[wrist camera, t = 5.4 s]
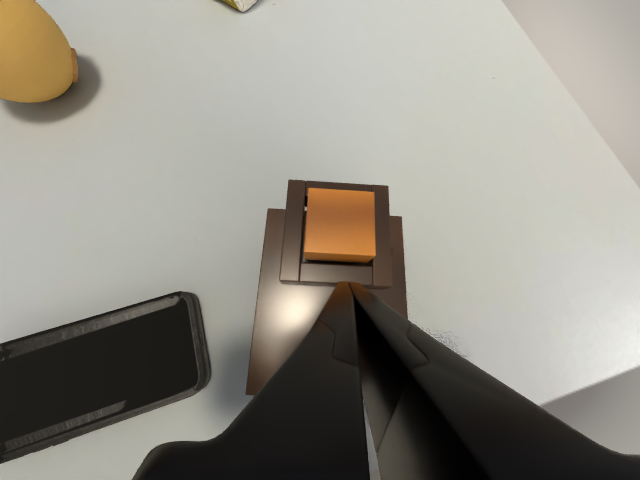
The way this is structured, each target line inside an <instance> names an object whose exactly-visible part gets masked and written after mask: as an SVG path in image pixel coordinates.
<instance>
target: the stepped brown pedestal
mask: <svg viewBox="0 0 640 480" xmlns="http://www.w3.org/2000/svg"><path fill="white" fill-rule="evenodd" d="M308 188H319V189H334V190H350V191H366V192H374V207H375V249H376V256H375V257H374V258H372V259H371V260H370V261H369V262H368V263H357V262H338V261H320V260H305V256H304V246H305V231H306V216H307V211H305V206H306V207H307V202H308ZM338 281H347V282H358V283H359V284H361V285H362V286H363V287H365V288H366V289H367V290H369V291H370V292H371V293H373V294H374V295H375V296H377V297H378V298H379V299H381V300H382V301H383V302H385V303H386V304H387V305H389V306H390V307H391V308H393V309H394V310H395V311H397V312H398V313H399V314H401V315H402V316H403V317H405V318H406V319H407V320H408V316H407V299H406V282H405V265H404V248H403V231H402V217H400V216H390V215H389V192H388V186H383V185H365V184H349V183H334V182H318V181H303V180H289V181H288V191H287V202H286V210H285V209H269V208H268V212H267V220H266V228H265V236H264V245H263V253H262V261H261V270H260V278H259V286H258V295H257V303H256V311H255V320H254V328H253V336H252V345H251V353H250V361H249V369H248V378H247V386H246V395H256V394H257V393H258V392H259V390H260V389H261V388H262V387H263V386H264V385H265V383H266V382H267V381H268V380H269V379H270V377H271V376H272V375H273V374H274V373H275V372H276V370H277V369H278V368H279V367H280V366H281V365H282V363H283V362H284V361H285V360H286V359H287V357H288V356H289V355H290V354H291V353H292V352H293V350H294V349H295V348H296V347H297V346H298V345H299V343H300V342H301V341H302V340H303V338H304V337H305V336H306V335H307V333H308V332H309V330H310V329H311V327H312V326H313V324H314V322H315V321H316V319H317V318H318V316H319V314H320V312H321V311H322V309H323V307H324V305H325V304H326V302H327V300H328V298H329V297H330V295H331V293H332V292H333V290H334V288H335V286H336V285H337V283H338ZM362 395H363V394H362ZM363 399H364V398H363Z"/></svg>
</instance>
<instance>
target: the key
mask: <svg viewBox="0 0 640 480" xmlns="http://www.w3.org/2000/svg"><path fill="white" fill-rule="evenodd" d="M304 256H305V260H320V261H338V262H357V263H368V262H369V261H370V260H371V259H372V258H374V257H375V256H376V249H375V207H374V192H366V191H350V190H334V189H319V188H308V202H307V216H306V231H305V246H304Z"/></svg>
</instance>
